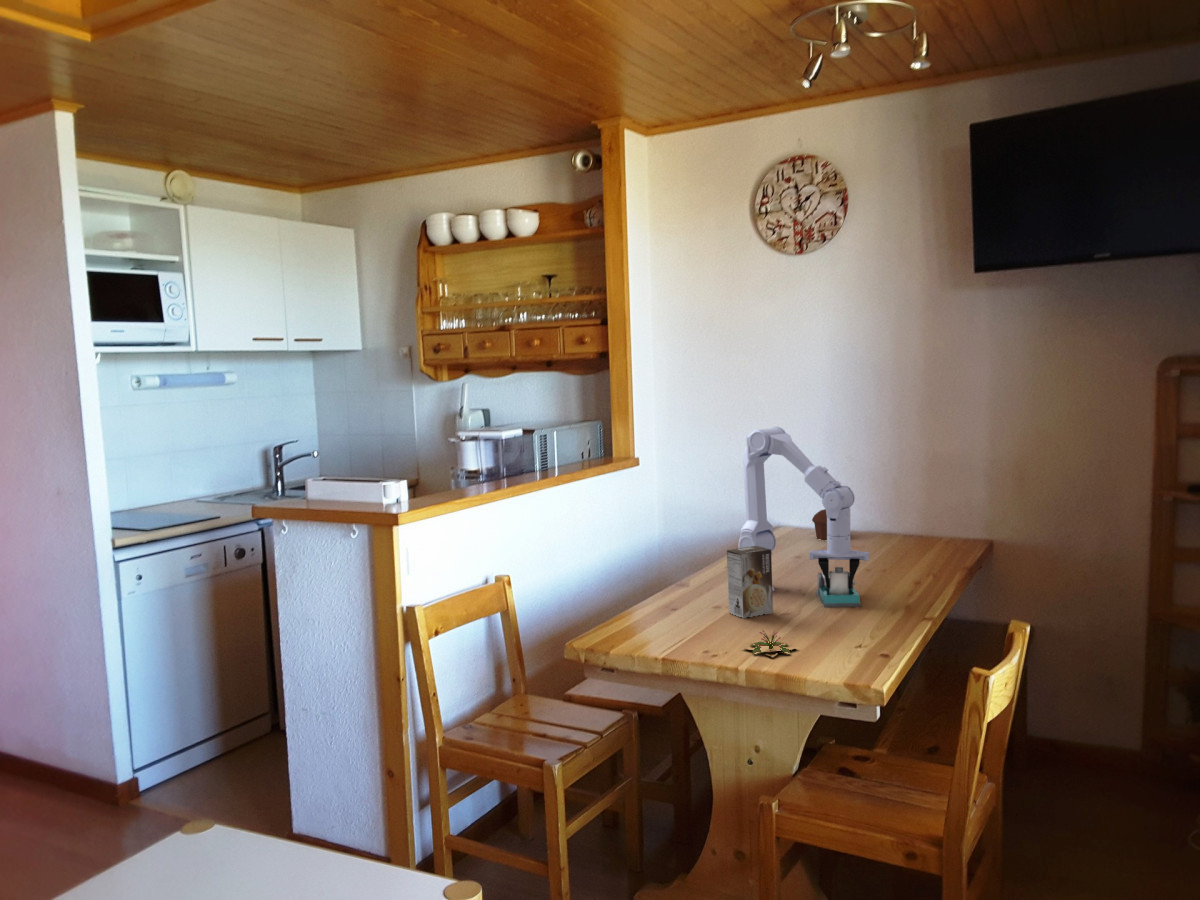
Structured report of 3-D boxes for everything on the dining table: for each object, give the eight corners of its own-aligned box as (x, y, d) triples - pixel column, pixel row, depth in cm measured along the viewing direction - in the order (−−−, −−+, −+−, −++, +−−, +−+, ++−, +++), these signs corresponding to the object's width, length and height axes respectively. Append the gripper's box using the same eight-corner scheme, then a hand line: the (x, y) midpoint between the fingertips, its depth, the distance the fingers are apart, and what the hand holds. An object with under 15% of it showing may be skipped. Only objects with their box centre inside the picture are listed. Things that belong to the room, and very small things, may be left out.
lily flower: (810, 652, 206) (810, 631, 206) (773, 664, 199) (773, 643, 198) (767, 640, 216) (767, 620, 215) (730, 652, 208) (730, 631, 208)
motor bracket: (823, 607, 240) (823, 583, 239) (815, 593, 254) (815, 570, 253) (863, 606, 239) (862, 582, 239) (852, 593, 253) (852, 569, 253)
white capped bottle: (836, 598, 241) (835, 570, 240) (825, 594, 245) (825, 566, 244) (852, 596, 242) (852, 568, 241) (842, 592, 247) (841, 564, 246)
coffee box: (757, 607, 242) (756, 544, 240) (773, 613, 236) (772, 549, 234) (727, 613, 237) (726, 549, 236) (743, 619, 232) (741, 553, 230)
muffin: (812, 542, 322) (812, 512, 321) (811, 535, 333) (810, 507, 332) (849, 542, 320) (849, 512, 319) (846, 535, 331) (846, 507, 330)
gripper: (868, 532, 244) (868, 584, 246) (809, 531, 248) (810, 583, 249) (868, 537, 237) (869, 591, 239) (808, 536, 241) (809, 589, 242)
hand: (839, 587), depth 244 cm, fingers closed on white capped bottle, 5 cm apart
